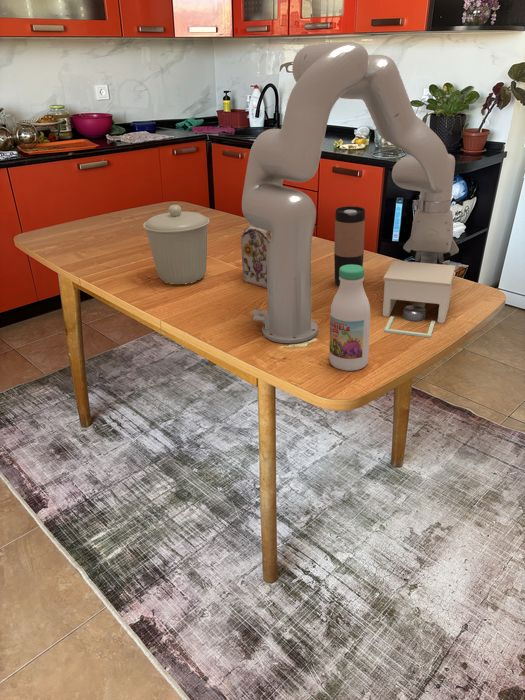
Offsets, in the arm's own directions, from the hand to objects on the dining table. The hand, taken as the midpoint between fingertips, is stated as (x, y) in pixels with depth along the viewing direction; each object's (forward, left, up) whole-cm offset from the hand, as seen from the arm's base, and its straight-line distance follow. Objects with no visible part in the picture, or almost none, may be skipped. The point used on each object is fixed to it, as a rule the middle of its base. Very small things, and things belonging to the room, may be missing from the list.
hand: (428, 274), depth 149 cm
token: (0, -23, -2) cm, 24 cm away
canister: (-66, -15, -3) cm, 68 cm away
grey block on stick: (0, -8, -2) cm, 8 cm away
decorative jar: (-41, -9, -3) cm, 42 cm away
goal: (0, -29, -2) cm, 29 cm away
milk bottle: (-9, -49, -3) cm, 50 cm away
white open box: (0, -19, -2) cm, 19 cm away
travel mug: (-20, -6, -3) cm, 21 cm away
